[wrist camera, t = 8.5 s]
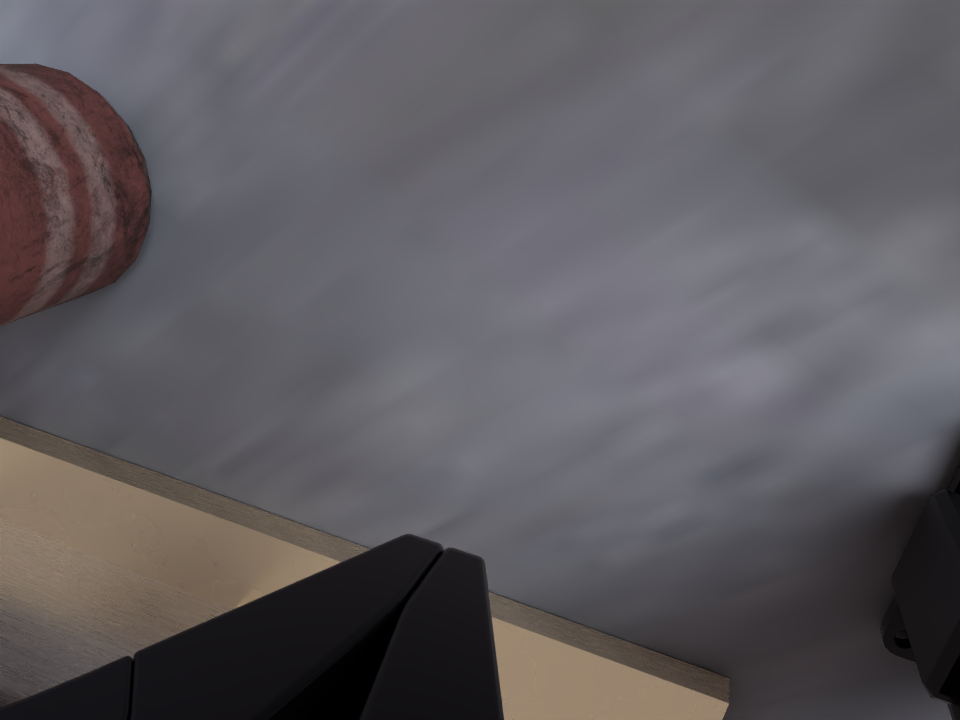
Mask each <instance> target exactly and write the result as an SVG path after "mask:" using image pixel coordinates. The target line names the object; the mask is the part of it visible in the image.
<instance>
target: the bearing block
mask: <svg viewBox="0 0 960 720" xmlns="http://www.w3.org/2000/svg"><path fill="white" fill-rule="evenodd" d="M368 550H370V549H368V548H365V547H363V546H360V545H357V544H354V543H352V542H349V541H346V540H343V539H340V538H338V537H335V536H332V535H329V534H326V533H324V532H321V531H318V530H315V529H313V528H310V527H307V526H304V525H301V524H299V523H296V522H293V521H290V520H288V519H285V518H282V517H279V516H276V515H274V514H271V513H268V512H265V511H262V510H260V509H257V508H254V507H251V506H249V505H246V504H243V503H240V502H237V501H235V500H232V499H229V498H226V497H224V496H221V495H218V494H215V493H212V492H210V491H207V490H204V489H201V488H198V487H196V486H193V485H190V484H187V483H185V482H182V481H179V480H176V479H173V478H171V477H168V476H165V475H162V474H160V473H157V472H154V471H151V470H148V469H146V468H143V467H140V466H137V465H134V464H132V463H129V462H126V461H123V460H121V459H118V458H115V457H112V456H109V455H107V454H104V453H101V452H98V451H96V450H93V449H90V448H87V447H84V446H82V445H79V444H76V443H73V442H70V441H68V440H65V439H62V438H59V437H57V436H54V435H51V434H48V433H45V432H43V431H40V430H37V429H34V428H31V427H29V426H26V425H23V424H20V423H18V422H15V421H12V420H9V419H6V418H4V417H1V416H0V707H1V706H4V705H6V704H9V703H12V702H15V701H18V700H20V699H23V698H26V697H29V696H31V695H33V694H36V693H38V692H41V691H43V690H46V689H48V688H51V687H53V686H55V685H58V684H60V683H63V682H65V681H68V680H70V679H73V678H75V677H77V676H80V675H82V674H85V673H87V672H90V671H92V670H94V669H97V668H99V667H101V666H103V665H106V664H108V663H110V662H113V661H115V660H117V659H120V658H122V657H124V656H131V657H132V659H133V656H134V653H135V652H137V651H139V650H141V649H143V648H146V647H148V646H150V645H152V644H155V643H157V642H159V641H162V640H164V639H166V638H168V637H171V636H173V635H175V634H178V633H180V632H182V631H184V630H187V629H189V628H191V627H194V626H196V625H198V624H201V623H203V622H205V621H207V620H210V619H212V618H214V617H217V616H219V615H221V614H223V613H226V612H228V611H230V610H233V609H235V608H237V607H240V606H242V605H244V604H246V603H249V602H251V601H253V600H256V599H258V598H260V597H262V596H265V595H267V594H269V593H272V592H274V591H276V590H278V589H281V588H283V587H285V586H288V585H290V584H292V583H295V582H297V581H299V580H301V579H304V578H306V577H308V576H311V575H313V574H315V573H317V572H320V571H322V570H324V569H327V568H329V567H331V566H333V565H336V564H338V563H340V562H343V561H345V560H347V559H350V558H352V557H354V556H356V555H359V554H361V553H363V552H366V551H368ZM489 599H490V608H491V616H492V624H493V632H494V640H495V648H496V657H497V665H498V673H499V681H500V689H501V697H502V706H503V714H504V720H722V719H723V717H724V715H725V712H726V710H727V708H728V705H729V678H727V677H724V676H722V675H719V674H716V673H713V672H711V671H708V670H705V669H702V668H699V667H697V666H694V665H691V664H688V663H685V662H683V661H680V660H677V659H674V658H672V657H669V656H666V655H663V654H660V653H658V652H655V651H652V650H649V649H647V648H644V647H641V646H638V645H635V644H633V643H630V642H627V641H624V640H621V639H619V638H616V637H613V636H610V635H608V634H605V633H602V632H599V631H596V630H594V629H591V628H588V627H585V626H583V625H580V624H577V623H574V622H571V621H569V620H566V619H563V618H560V617H557V616H555V615H552V614H549V613H546V612H544V611H541V610H538V609H535V608H532V607H530V606H527V605H524V604H521V603H519V602H516V601H513V600H510V599H507V598H505V597H502V596H499V595H496V594H493V593H491V592H489Z"/></svg>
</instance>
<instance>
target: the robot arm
mask: <svg viewBox="0 0 960 720" xmlns="http://www.w3.org/2000/svg"><path fill="white" fill-rule="evenodd" d="M891 582H892V585H893V588H894V592H895V597H894V599H893V601H892V603H891V605H890V607H889V609H888V611H887V613H886V615H885V617H884V619H883V621H882V623H881V628H880V631H881V634H882V638H883V642H884V645H885V647H886V648H887V649H888V650H889V651H890V652H891V653H893V654H895V655H897V656H899V657H902V658H905V659H908V660H911V661H914V662H916V664H917V667H918V670H919V673H920V677H921V680H922V683H923V685H924V687H925V688H926V690H927V692H928V694H929V695H930V697H931V698H933V699H936V700H939V701H942V702H944V703H947V705H948V708H949V711H950V714H951V717H952V720H960V464H959V466H958V469H957V471H956V473H955V475H954V477H953V479H952V481H951V483H950V485H949V487H948V489H947V490H946V489H943V490H941V491H939V492H937V493H935V494H933V495H932V496H931V497H930V499H929V501H928V503H927V505H926V507H925V510H924V512H923V514H922V516H921V518H920V520H919V522H918V524H917V526H916V528H915V530H914V532H913V534H912V536H911V538H910V540H909V542H908V545H907V547H906V549H905V551H904V553H903V555H902V557H901V559H900V561H899V563H898V565H897V567H896V569H895V571H894V573H893V575H892V579H891ZM900 631H907V634H908V638H905V639H902V638H897V637H896V636H895V635H896V634H897V633H898V632H900ZM0 720H504V714H503V706H502V697H501V689H500V681H499V673H498V665H497V657H496V648H495V640H494V632H493V624H492V616H491V608H490V599H489V591H488V583H487V575H486V567H485V562H484V560H483V559H482V558H481V557H480V556H477V555H473V554H470V553H467V552H464V551H461V550H458V549H455V548H446V549H445V550H444V549H443V546H442V545H441V544H439V543H436V542H433V541H430V540H427V539H424V538H421V537H418V536H415V535H412V534H406V535H402V536H400V537H398V538H395V539H393V540H391V541H389V542H386V543H384V544H382V545H379V546H377V547H375V548H372V549H370V550H368V551H366V552H363V553H361V554H359V555H356V556H354V557H352V558H350V559H347V560H345V561H343V562H340V563H338V564H336V565H333V566H331V567H329V568H327V569H324V570H322V571H320V572H317V573H315V574H313V575H311V576H308V577H306V578H304V579H301V580H299V581H297V582H295V583H292V584H290V585H288V586H285V587H283V588H281V589H278V590H276V591H274V592H272V593H269V594H267V595H265V596H262V597H260V598H258V599H256V600H253V601H251V602H249V603H246V604H244V605H242V606H240V607H237V608H235V609H233V610H230V611H228V612H226V613H223V614H221V615H219V616H217V617H214V618H212V619H210V620H207V621H205V622H203V623H201V624H198V625H196V626H194V627H191V628H189V629H187V630H184V631H182V632H180V633H178V634H175V635H173V636H171V637H168V638H166V639H164V640H162V641H159V642H157V643H155V644H152V645H150V646H148V647H146V648H143V649H141V650H139V651H137V652H135V653H134V656H133V659H132V657H131V656H124V657H122V658H120V659H117V660H115V661H113V662H110V663H108V664H106V665H103V666H101V667H99V668H97V669H94V670H92V671H90V672H87V673H85V674H82V675H80V676H77V677H75V678H73V679H70V680H68V681H65V682H63V683H60V684H58V685H55V686H53V687H51V688H48V689H46V690H43V691H41V692H38V693H36V694H33V695H31V696H29V697H26V698H23V699H20V700H18V701H15V702H12V703H9V704H6V705H4V706H1V707H0Z"/></svg>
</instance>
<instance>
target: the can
mask: <svg viewBox="0 0 960 720" xmlns="http://www.w3.org/2000/svg"><path fill="white" fill-rule="evenodd" d="M151 192H152V191H151V186H150V181H149V177H148V172H147V167H146V162H145V158H144V156H143V154H142V152H141V150H140V148H139V146H138V144H137V142H136V140H135V138H134V136H133V133H132V131H131V129H130V128H129V127H128V125H127V124H126V123H125V122H124V121H123V119H122V118H121V117H120V116H119V115H118V114H117V112H116V111H115V110H114V109H113V108H112V107H111V105H110V104H109V103H108V102H107V101H106V100H105V99H104V98H103V97H102V96H101V95H100V93H98V92H97V91H95V90H94V89H92V88H91V87H89V86H88V85H86V84H85V83H83V82H82V81H80V80H79V79H77V78H76V77H74V76H73V75H71V74H70V73H68V72H64V71H61V70H57V69H53V68H50V67H46V66H42V65H39V64H0V326H1V325H4V324H7V323H10V322H12V321H15V320H18V319H20V318H23V317H26V316H29V315H31V314H34V313H37V312H39V311H42V310H45V309H48V308H50V307H53V306H56V305H59V304H61V303H64V302H67V301H69V300H72V299H75V298H78V297H80V296H83V295H86V294H88V293H91V292H93V291H95V290H98V289H100V288H102V287H105V286H107V285H109V284H111V283H114V282H116V280H117V279H118V278H119V277H120V276H121V275H122V274H123V273H124V272H125V271H126V270H127V269H128V268H129V267H130V265H131V264H132V263H133V262H134V261H135V260H136V257H137V255H138V252H139V250H140V247H141V245H142V242H143V240H144V237H145V235H146V232H147V229H148V225H149V220H150V206H151Z"/></svg>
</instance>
